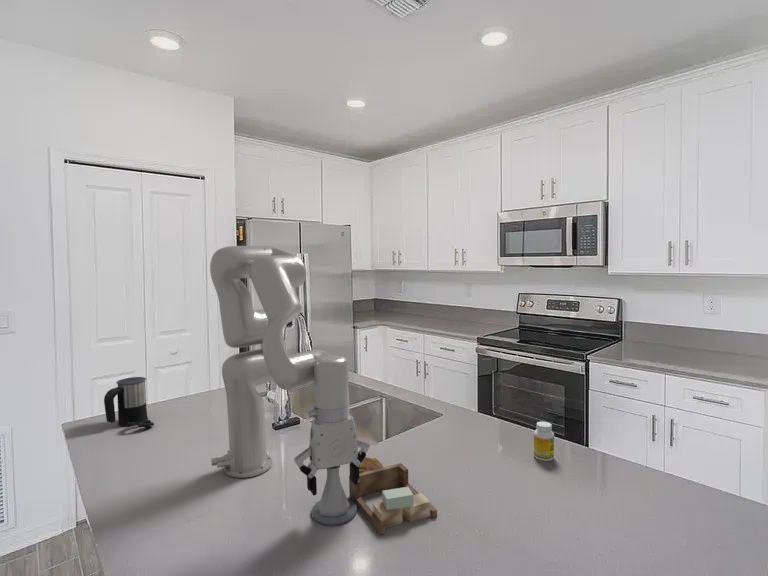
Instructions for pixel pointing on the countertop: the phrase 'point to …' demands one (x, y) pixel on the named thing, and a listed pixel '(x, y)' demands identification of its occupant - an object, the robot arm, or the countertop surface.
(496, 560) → the countertop surface
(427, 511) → the birch offcut block
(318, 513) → the disc
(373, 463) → the shard
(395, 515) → the oak offcut block
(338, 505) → the flask
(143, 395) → the milk frother
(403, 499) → the sage painted offcut block
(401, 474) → the walnut rack
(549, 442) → the supplement bottle
